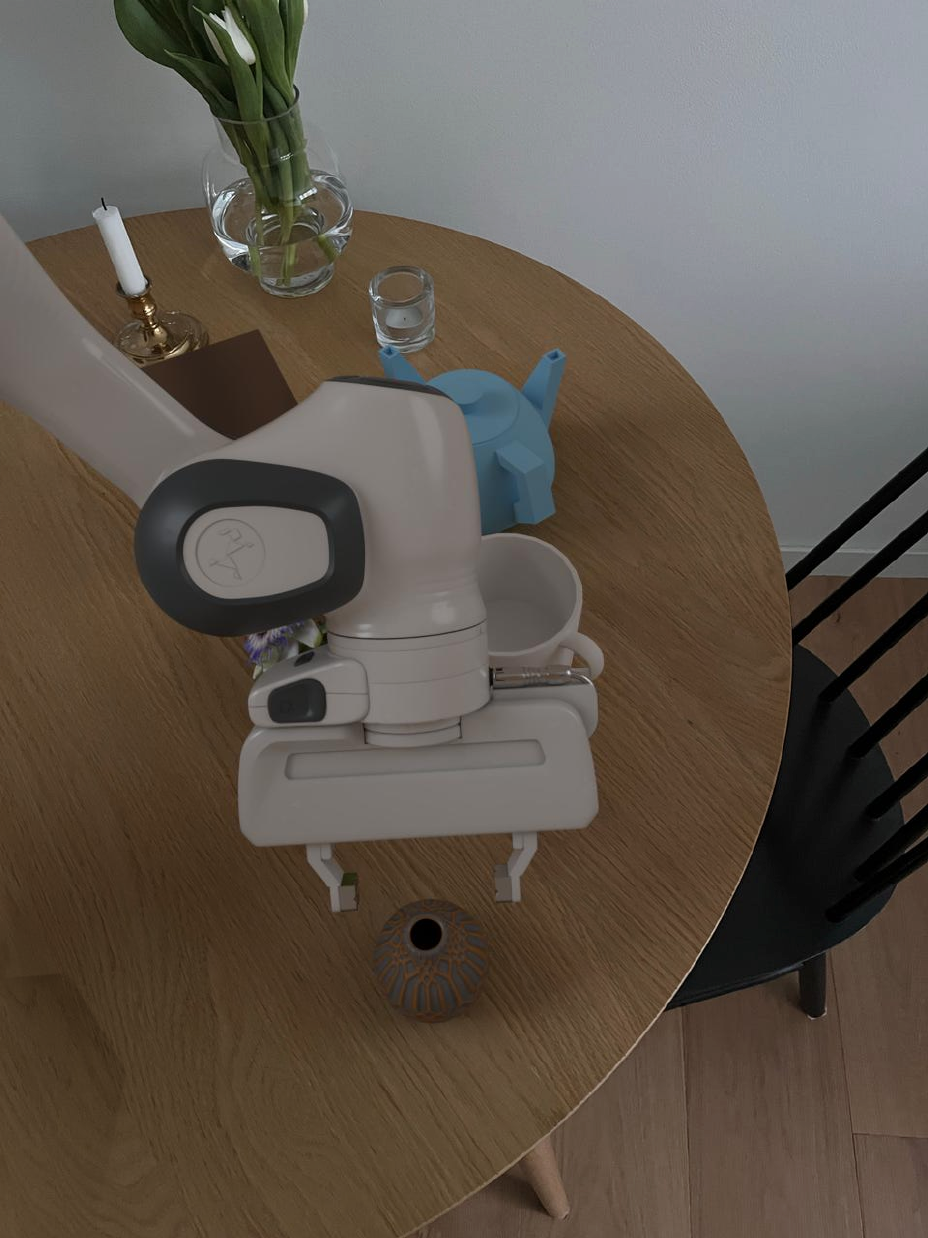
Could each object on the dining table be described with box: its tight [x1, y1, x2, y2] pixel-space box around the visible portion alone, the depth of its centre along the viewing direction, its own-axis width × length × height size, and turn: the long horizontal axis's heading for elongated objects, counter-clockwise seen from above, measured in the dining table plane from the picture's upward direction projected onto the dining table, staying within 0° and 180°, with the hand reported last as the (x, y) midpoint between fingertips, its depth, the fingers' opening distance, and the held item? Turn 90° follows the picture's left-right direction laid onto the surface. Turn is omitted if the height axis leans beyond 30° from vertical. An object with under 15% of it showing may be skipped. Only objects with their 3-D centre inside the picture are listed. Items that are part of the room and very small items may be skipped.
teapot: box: [377, 343, 568, 536], centre depth 84 cm, size 15×15×11 cm
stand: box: [139, 328, 299, 438], centre depth 83 cm, size 12×12×12 cm
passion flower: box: [242, 617, 328, 681], centre depth 76 cm, size 11×11×12 cm
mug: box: [477, 532, 605, 693], centre depth 75 cm, size 13×10×8 cm
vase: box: [373, 898, 491, 1025], centre depth 63 cm, size 7×7×9 cm
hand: (427, 903), depth 62 cm, fingers open, 8 cm apart
